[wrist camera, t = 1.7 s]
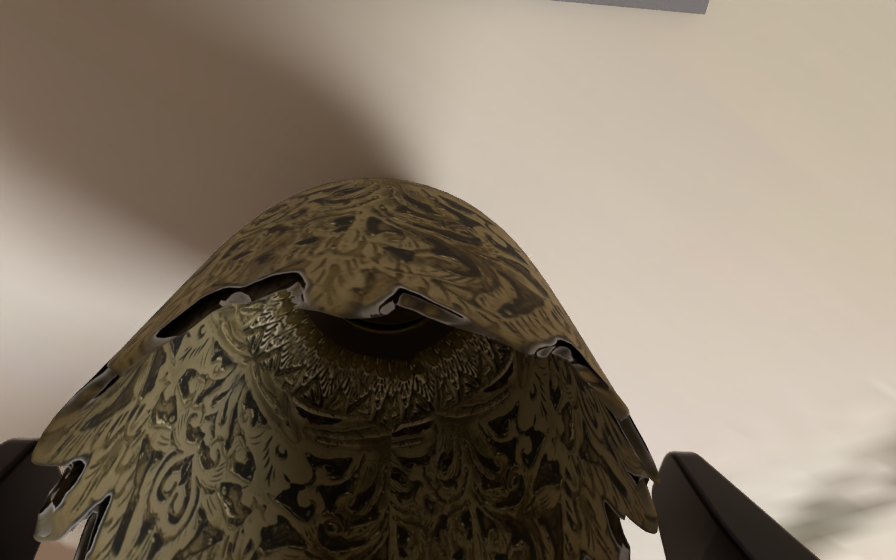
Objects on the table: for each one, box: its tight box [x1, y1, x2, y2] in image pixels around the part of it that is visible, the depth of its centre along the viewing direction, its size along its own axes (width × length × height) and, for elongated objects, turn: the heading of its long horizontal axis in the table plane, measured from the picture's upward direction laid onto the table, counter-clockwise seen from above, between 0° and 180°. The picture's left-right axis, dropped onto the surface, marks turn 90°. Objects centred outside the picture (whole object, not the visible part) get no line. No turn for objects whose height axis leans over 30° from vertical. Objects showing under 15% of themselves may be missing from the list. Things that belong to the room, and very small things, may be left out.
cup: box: [31, 178, 660, 560], centre depth 10 cm, size 8×7×8 cm
